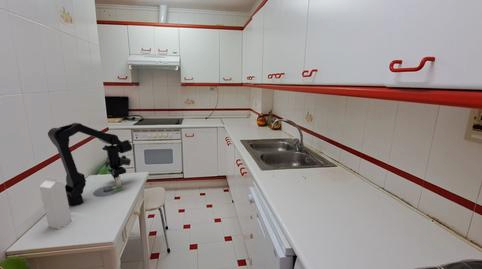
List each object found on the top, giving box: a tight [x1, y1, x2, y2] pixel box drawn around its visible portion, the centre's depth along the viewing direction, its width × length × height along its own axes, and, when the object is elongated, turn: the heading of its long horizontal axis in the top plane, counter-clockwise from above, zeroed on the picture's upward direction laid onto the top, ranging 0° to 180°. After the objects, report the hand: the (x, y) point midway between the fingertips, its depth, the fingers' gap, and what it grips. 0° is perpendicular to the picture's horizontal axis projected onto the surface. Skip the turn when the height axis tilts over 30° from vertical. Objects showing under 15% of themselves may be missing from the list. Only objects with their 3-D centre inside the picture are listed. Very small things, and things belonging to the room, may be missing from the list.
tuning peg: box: [103, 175, 122, 192], centre depth 135 cm, size 9×4×6 cm, turn 135°
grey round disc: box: [92, 184, 123, 198], centre depth 134 cm, size 14×14×1 cm
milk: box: [39, 176, 72, 230], centre depth 102 cm, size 6×6×22 cm
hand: (116, 181), depth 139 cm, fingers closed
